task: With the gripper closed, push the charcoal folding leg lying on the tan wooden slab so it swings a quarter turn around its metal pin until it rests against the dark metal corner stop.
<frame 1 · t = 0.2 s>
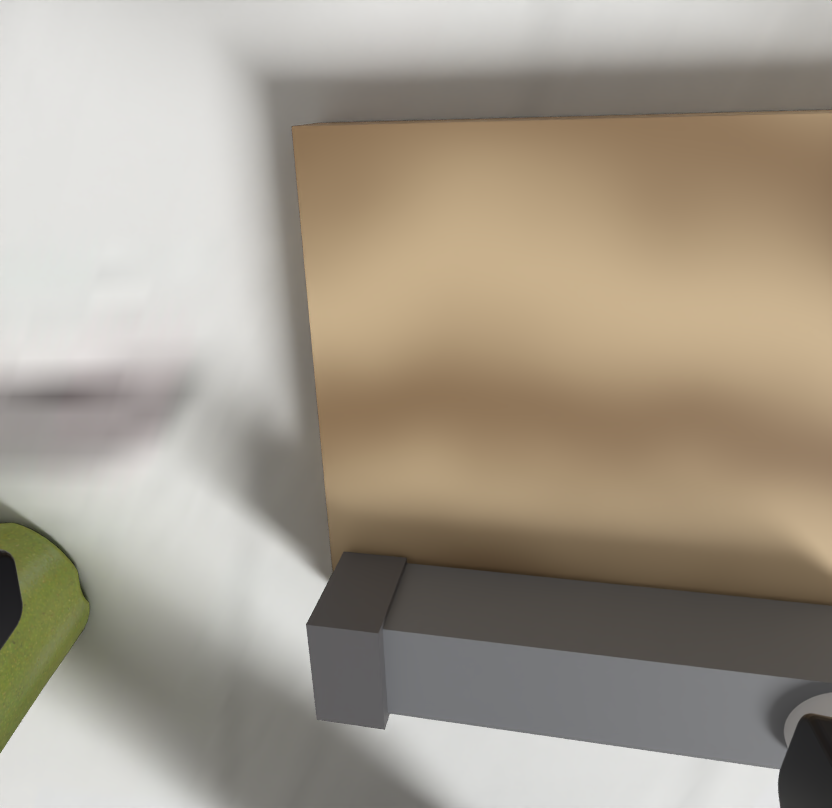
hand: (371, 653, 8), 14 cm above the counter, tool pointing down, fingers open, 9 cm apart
tan wooden slab: (601, 409, 21), on the counter
plant pot: (27, 580, 29), on the counter
folding leg: (589, 666, 20), point 4 cm above the counter, hinge at 90.0°
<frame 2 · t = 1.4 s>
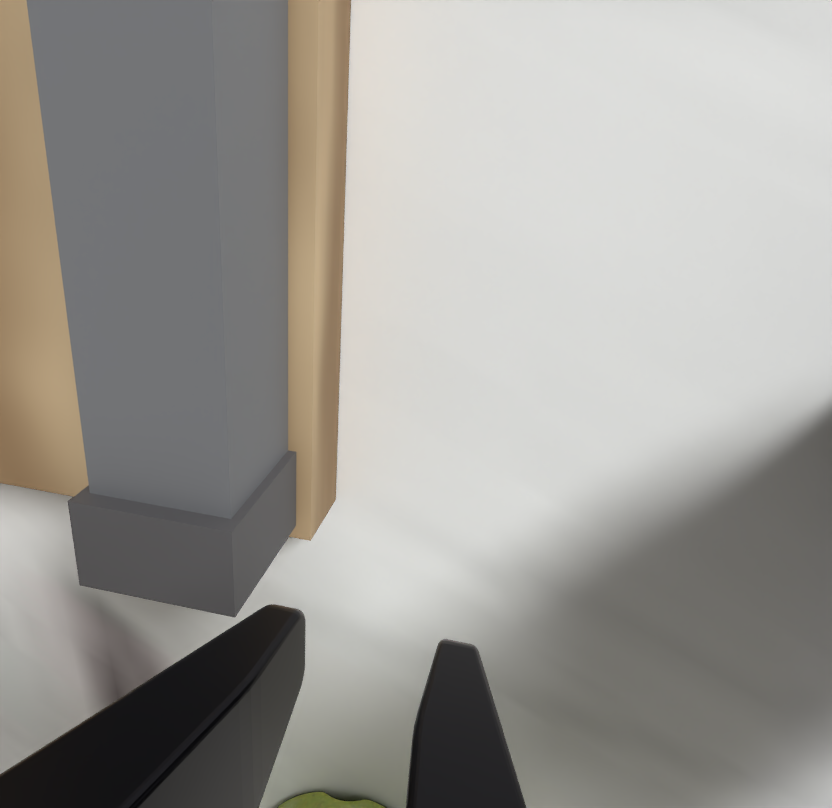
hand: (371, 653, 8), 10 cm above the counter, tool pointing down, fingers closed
tan wooden slab: (28, 160, 18), on the counter
folding leg: (172, 209, 13), point 4 cm above the counter, hinge at 90.0°
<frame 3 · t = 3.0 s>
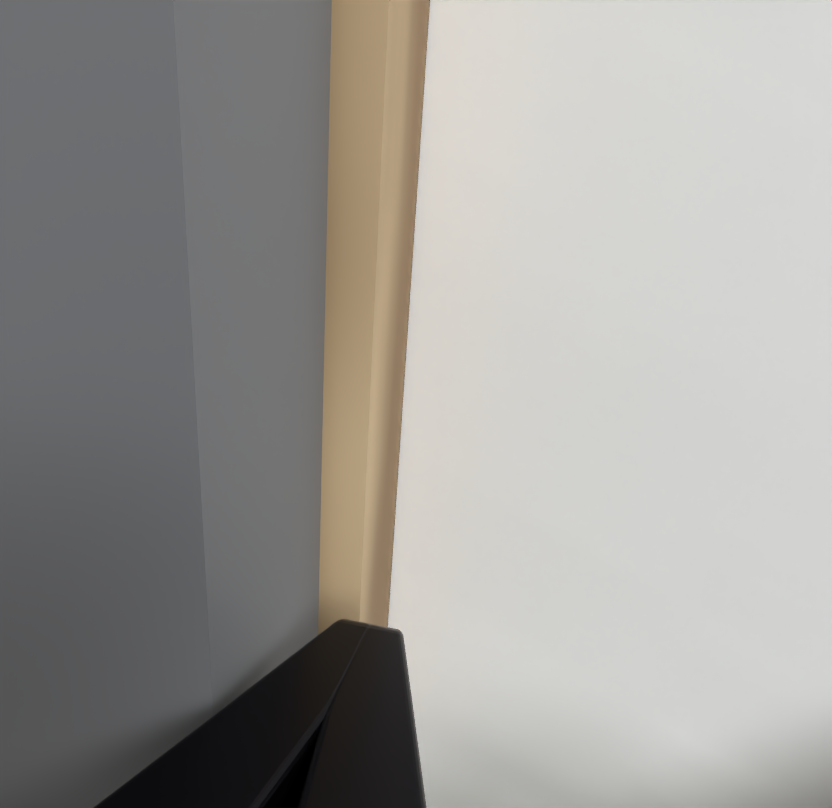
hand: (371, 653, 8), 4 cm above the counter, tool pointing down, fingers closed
folding leg: (113, 380, 7), point 4 cm above the counter, hinge at 89.8°, touching gripper
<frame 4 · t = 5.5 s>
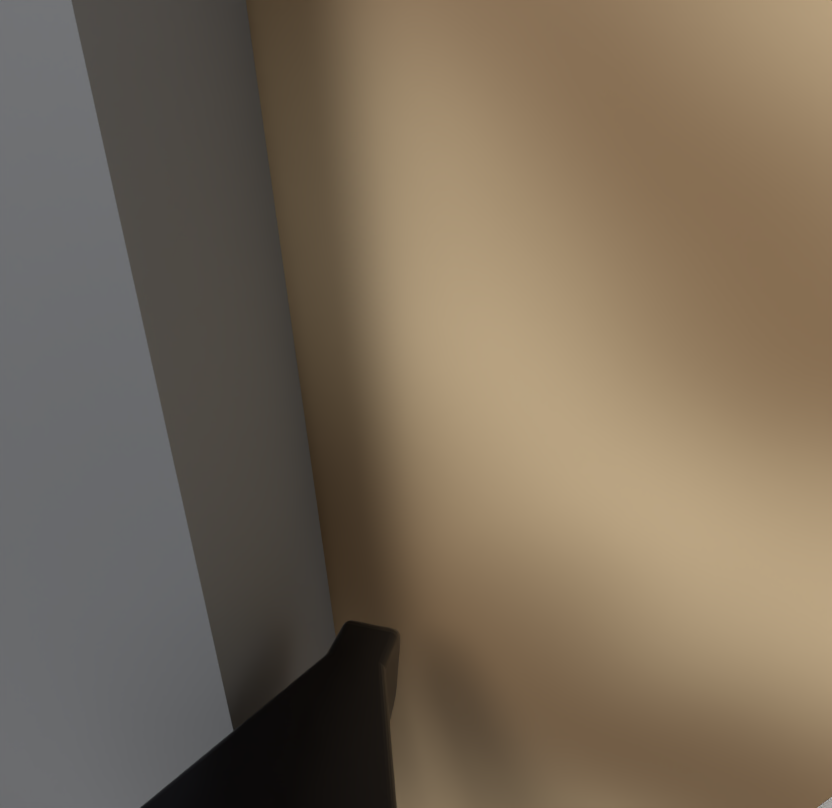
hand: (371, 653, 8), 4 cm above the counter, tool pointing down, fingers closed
tan wooden slab: (357, 444, 11), on the counter
folding leg: (87, 403, 7), point 4 cm above the counter, hinge at 34.9°, touching gripper
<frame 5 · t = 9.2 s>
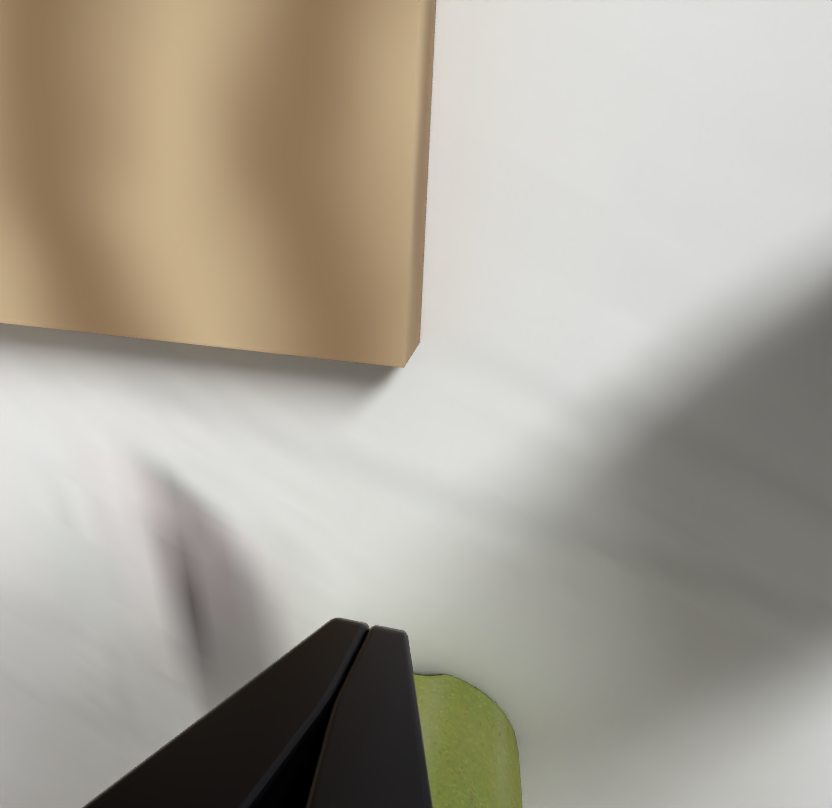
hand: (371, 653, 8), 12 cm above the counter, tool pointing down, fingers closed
plant pot: (430, 731, 25), on the counter
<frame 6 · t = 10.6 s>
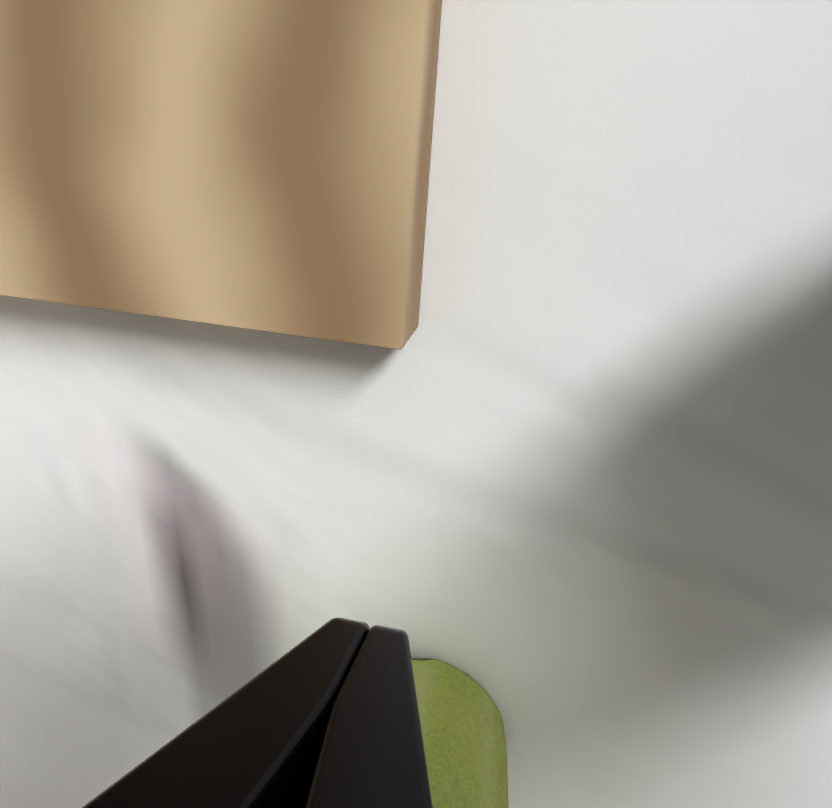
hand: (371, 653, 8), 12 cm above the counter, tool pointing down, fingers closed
plant pot: (419, 716, 25), on the counter
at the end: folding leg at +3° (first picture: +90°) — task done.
